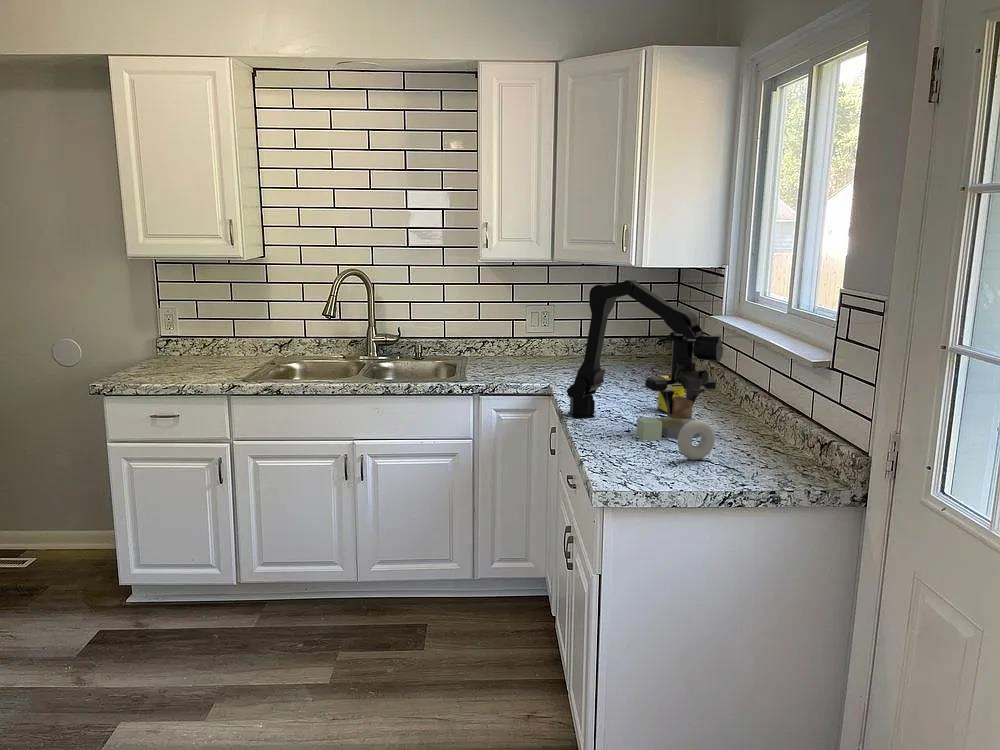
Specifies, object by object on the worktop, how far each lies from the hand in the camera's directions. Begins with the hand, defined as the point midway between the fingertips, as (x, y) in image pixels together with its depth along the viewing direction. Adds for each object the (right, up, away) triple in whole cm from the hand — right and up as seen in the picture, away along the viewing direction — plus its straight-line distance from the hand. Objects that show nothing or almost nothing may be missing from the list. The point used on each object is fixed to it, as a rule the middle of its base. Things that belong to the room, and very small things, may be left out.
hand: (679, 413), depth 211 cm
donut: (-2, -10, -26) cm, 28 cm away
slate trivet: (0, -5, +1) cm, 5 cm away
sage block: (-10, -6, -6) cm, 13 cm away
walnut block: (0, -1, 0) cm, 1 cm away
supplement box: (+3, -1, +24) cm, 24 cm away
